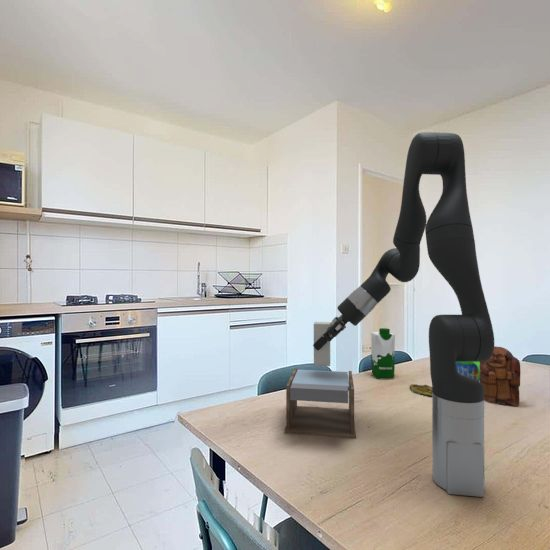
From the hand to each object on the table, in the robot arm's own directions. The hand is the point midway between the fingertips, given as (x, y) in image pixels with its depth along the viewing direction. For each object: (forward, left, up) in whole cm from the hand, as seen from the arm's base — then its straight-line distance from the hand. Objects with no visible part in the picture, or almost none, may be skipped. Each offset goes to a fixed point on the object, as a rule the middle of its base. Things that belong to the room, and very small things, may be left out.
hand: (316, 346), depth 106 cm
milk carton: (+49, -25, -21) cm, 58 cm away
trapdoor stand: (-3, -2, -21) cm, 21 cm away
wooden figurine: (+24, -59, -21) cm, 67 cm away
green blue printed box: (+44, -56, -21) cm, 74 cm away
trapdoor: (-7, -2, -10) cm, 12 cm away
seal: (+30, -38, -21) cm, 53 cm away
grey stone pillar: (0, -2, -5) cm, 5 cm away
